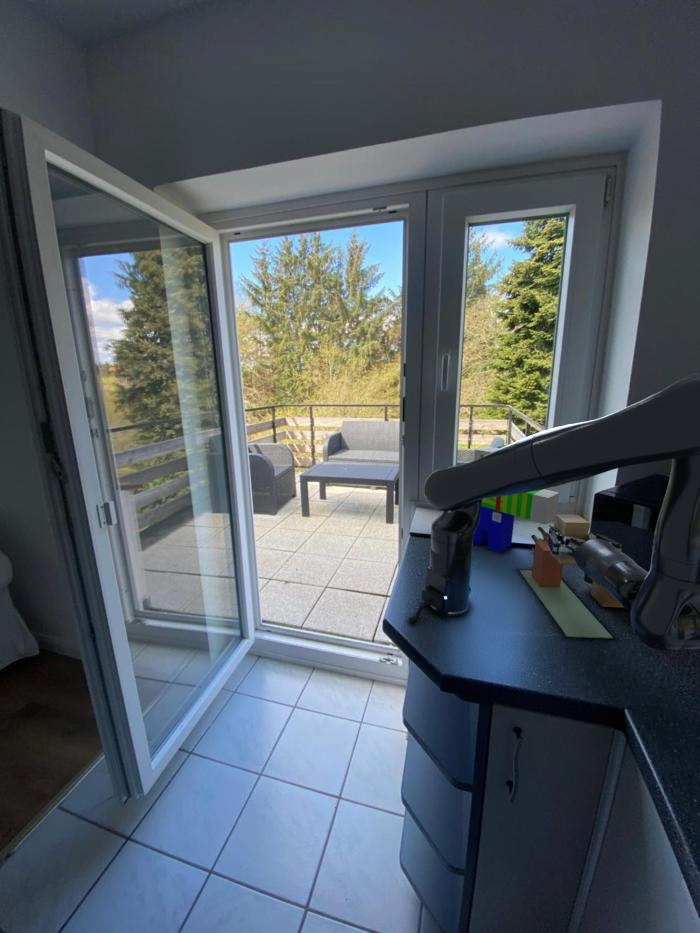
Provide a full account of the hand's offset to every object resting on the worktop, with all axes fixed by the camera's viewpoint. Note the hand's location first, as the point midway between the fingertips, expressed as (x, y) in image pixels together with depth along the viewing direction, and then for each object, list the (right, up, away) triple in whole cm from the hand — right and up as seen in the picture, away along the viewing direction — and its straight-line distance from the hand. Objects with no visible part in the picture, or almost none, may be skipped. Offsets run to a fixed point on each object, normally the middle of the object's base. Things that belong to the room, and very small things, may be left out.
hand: (563, 530), depth 87 cm
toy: (-6, -10, +31) cm, 33 cm away
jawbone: (+12, -11, +24) cm, 29 cm away
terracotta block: (0, -15, +9) cm, 17 cm away
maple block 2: (+11, -17, +1) cm, 20 cm away
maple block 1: (0, -6, -1) cm, 7 cm away
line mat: (0, -17, +2) cm, 17 cm away
